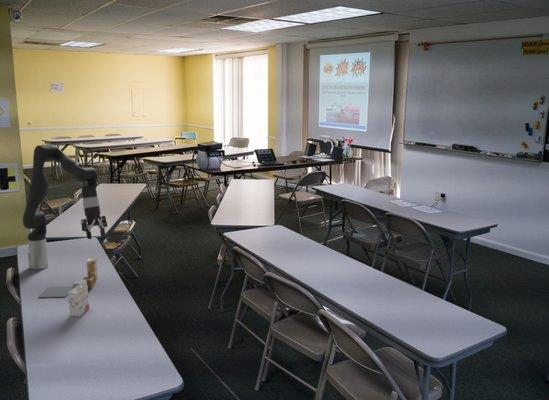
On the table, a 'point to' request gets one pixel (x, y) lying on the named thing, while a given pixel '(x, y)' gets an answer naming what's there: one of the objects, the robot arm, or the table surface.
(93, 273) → the maple block
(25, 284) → the table surface
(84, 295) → the ink cartridge box
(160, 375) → the table surface
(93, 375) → the table surface
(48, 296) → the slate mat
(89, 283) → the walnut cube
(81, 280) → the grey block
